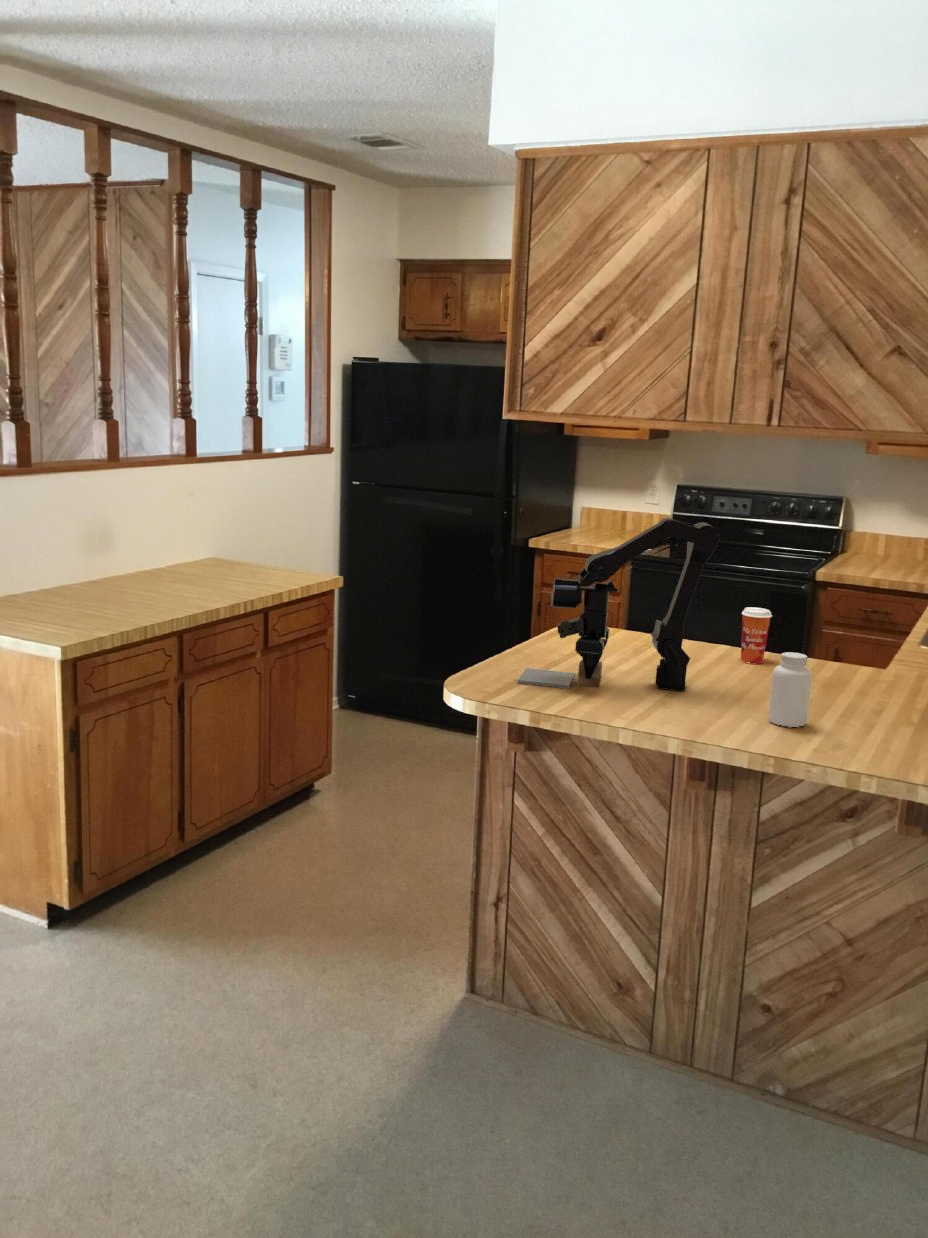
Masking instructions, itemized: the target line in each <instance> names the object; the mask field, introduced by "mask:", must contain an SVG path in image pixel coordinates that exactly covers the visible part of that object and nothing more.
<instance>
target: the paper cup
mask: <svg viewBox="0 0 928 1238" xmlns="http://www.w3.org/2000/svg"><path fill="white" fill-rule="evenodd" d="M741 614H742V620H741V621H742V623H741V643H740V644H741V645H740V647H741V648H740V661H741V660H742V661H745V662H750V663H761V662H762V663H763V662H764V656H765V652H766V647H767V640H768V633H769V628H770V623H771V622H770V621H771V618H772V617H773V615H772V612H771V610H769V609H767V608H762V607H755V606H753V607H752V606H751V607H749V606H748V607H747V606H746V607H744V609H743V610H742V612H741ZM742 661H741V662H742Z"/></svg>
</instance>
